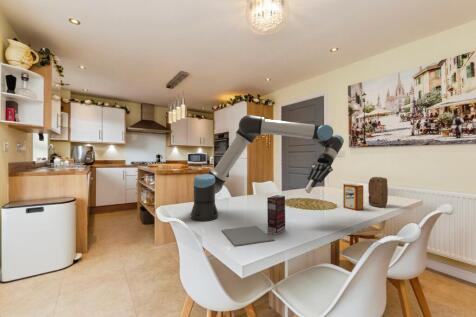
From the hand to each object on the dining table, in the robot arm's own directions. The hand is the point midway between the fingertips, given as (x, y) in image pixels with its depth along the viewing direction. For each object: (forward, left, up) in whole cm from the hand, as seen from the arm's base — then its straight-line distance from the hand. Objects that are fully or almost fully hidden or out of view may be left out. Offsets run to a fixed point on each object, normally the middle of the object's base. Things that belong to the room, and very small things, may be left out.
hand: (307, 191), depth 108 cm
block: (-18, +72, -17) cm, 76 cm away
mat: (+4, -34, -17) cm, 38 cm away
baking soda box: (-18, +50, -17) cm, 56 cm away
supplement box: (+4, -20, -17) cm, 26 cm away
